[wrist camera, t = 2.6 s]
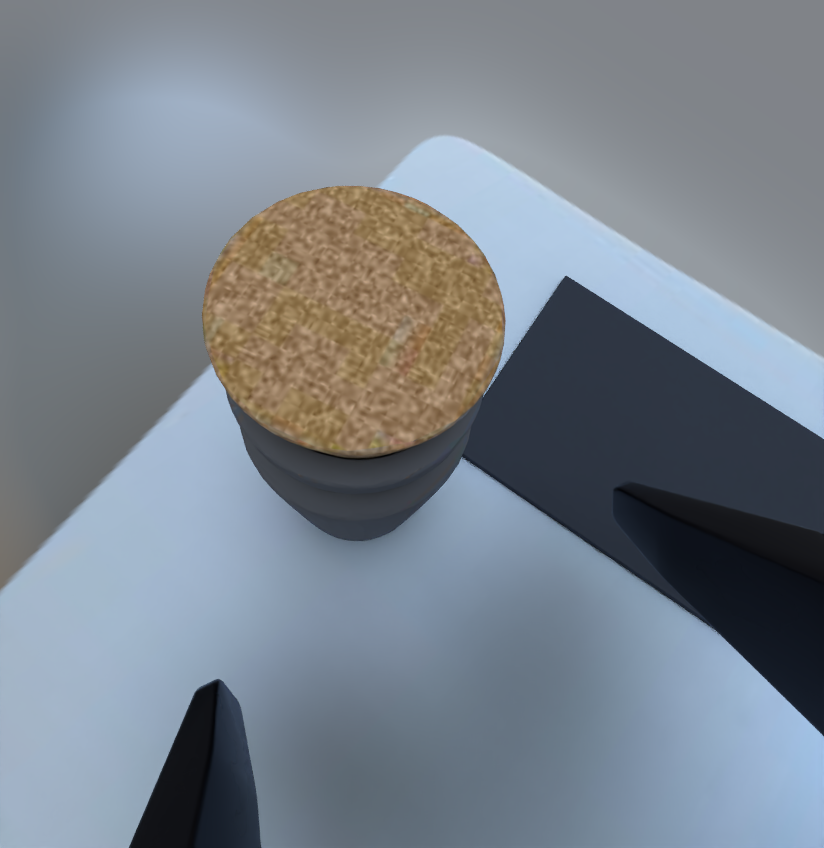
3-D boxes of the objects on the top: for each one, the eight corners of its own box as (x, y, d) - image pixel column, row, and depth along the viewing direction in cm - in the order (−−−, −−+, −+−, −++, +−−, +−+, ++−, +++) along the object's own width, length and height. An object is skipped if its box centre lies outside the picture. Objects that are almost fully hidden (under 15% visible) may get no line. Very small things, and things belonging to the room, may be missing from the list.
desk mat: (882, 482, 24) (891, 481, 24) (816, 698, 21) (824, 700, 20) (563, 279, 26) (566, 274, 25) (449, 447, 22) (451, 445, 22)
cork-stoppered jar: (361, 393, 23) (364, 102, 8) (446, 477, 22) (612, 318, 8) (267, 475, 21) (70, 290, 7) (356, 570, 20) (351, 590, 6)
